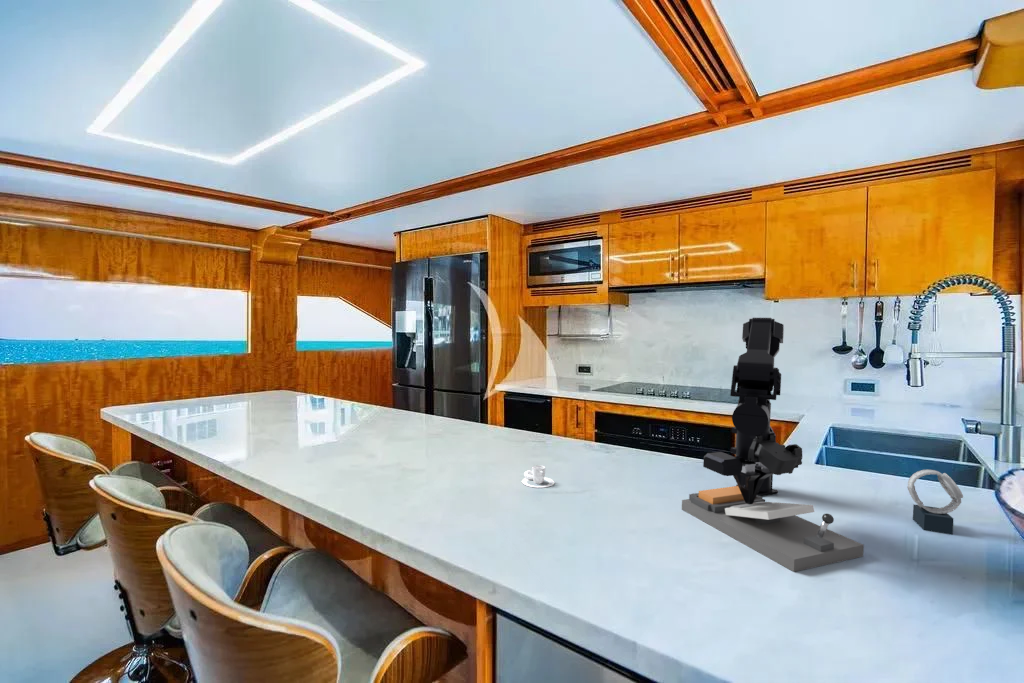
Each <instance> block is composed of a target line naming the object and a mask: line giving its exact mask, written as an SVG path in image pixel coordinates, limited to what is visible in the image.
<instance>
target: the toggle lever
mask: <svg viewBox="0 0 1024 683" xmlns="http://www.w3.org/2000/svg"><path fill="white" fill-rule="evenodd" d="M821 519H822V522H821V525H819V526H820V528H819V530H818V533H817V536H818V537H819V538H822V537H823V536H824V534H825V532H826V530H827V529H828V527H829V525H831V524H833V523H834V521H835V520H834V519H835V518H834V516H833V515H832V514H830V513H824V514H822V517H821Z"/></svg>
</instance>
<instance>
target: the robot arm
mask: <svg viewBox="0 0 1024 683" xmlns="http://www.w3.org/2000/svg"><path fill="white" fill-rule="evenodd" d="M748 320H749V321H747V322H744V323H743V324H742V335H741V336H742V337H741V339H742V342H743V343H745V349H746V352H744V353H742V354H741V355H739V356H738V359H737V363H736V365H733V368H732V378H731V384H730V385H731V386H730V394H729V395H730V397H738V400H737V406H736V407H735V409H734V410H733V412H732V415H731V421H732V424H733V426H732V427H731V433H732V434H736V435H735V447H730V451H729V452H730V454H728V453H725V452H722V451H717V452H707V453H706V454H705V455H704V456H703V461H702V462H703V465H702V466H703V468H705V469H707V470H710V471H712V472H714V473H717V474H719V475H720V476H721V475H722V476H726V477H731V476H733V478H734V480H735V482H736V485H735V486H738V487H739V489H740V491H741V494H742V496H743V498H744V501H745V503H747V504H753V502H754V500H755V498H756V495H758V496H761V497H762V496H767V495H773V494H774V495H775V494H778V493H779V490H777V489H774V488H773V480H774V478H773V477H774V475H776V476H781V475H784V474H793V472H794V470H795V469H797V468H799V466H801V465H803V447H801V446H800V445H798V444H797V443H794V444H788V445H785V444H779V442H777V440H776V439H777V435H776V433H775V432H774V429H773V428H772V426H771V411H772V408H771V407H772V403H771V401H777V396H781V390H782V389H781V388H782V373H781V372H780V369H779V368H778V367H775V358H776V356H777V355H778V354H779V352H780V346H781V345H780V344H784V333H785V330H784V329H785V327H784V324H783V323H780V322H778V321H776V320H775V318H772V317H752V318H749V319H748ZM731 454H732V455H731ZM733 455H735V456H733Z"/></svg>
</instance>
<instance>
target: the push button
mask: <svg viewBox="0 0 1024 683" xmlns="http://www.w3.org/2000/svg"><path fill="white" fill-rule="evenodd" d="M698 493H699V498H701V499H703V500H705V501H707V502H709V503H711V504H720V503H726V502H733V501H740V500H744V498H743V496H742V494H741V491H740V489H739V487H738V486H736V485H733V486H727V487H720V488H711V489H703V490H698Z"/></svg>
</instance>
